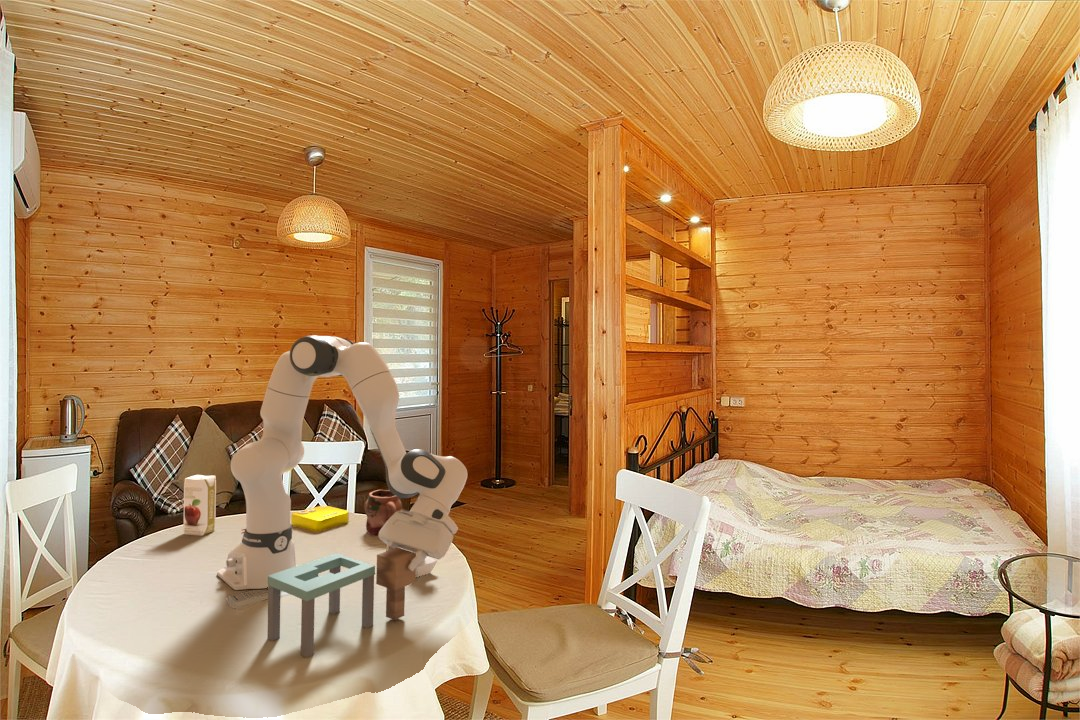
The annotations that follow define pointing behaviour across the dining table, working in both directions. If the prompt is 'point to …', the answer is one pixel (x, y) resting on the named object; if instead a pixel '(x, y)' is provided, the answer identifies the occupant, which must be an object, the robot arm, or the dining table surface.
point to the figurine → (425, 566)
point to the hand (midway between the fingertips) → (397, 565)
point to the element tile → (320, 518)
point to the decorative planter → (380, 509)
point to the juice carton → (199, 504)
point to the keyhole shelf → (319, 592)
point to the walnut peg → (395, 579)
